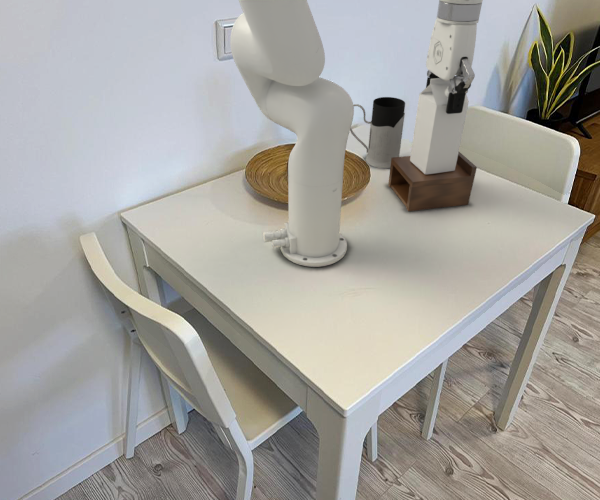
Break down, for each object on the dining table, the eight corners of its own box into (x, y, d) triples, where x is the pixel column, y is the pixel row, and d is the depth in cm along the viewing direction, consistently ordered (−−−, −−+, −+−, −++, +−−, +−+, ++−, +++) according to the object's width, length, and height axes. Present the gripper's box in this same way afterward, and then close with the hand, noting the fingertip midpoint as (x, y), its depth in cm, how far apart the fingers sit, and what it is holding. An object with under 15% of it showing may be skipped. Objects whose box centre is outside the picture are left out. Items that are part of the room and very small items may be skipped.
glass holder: (398, 170, 125) (406, 110, 116) (341, 163, 127) (344, 104, 119) (401, 155, 132) (409, 97, 123) (347, 149, 134) (350, 92, 126)
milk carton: (409, 161, 113) (422, 73, 102) (438, 157, 114) (453, 71, 103) (425, 175, 107) (440, 84, 96) (454, 171, 109) (473, 81, 98)
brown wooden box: (408, 211, 109) (414, 173, 103) (388, 185, 118) (392, 149, 113) (468, 204, 111) (477, 167, 106) (443, 179, 121) (450, 144, 116)
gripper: (420, 4, 99) (408, 92, 109) (462, 22, 85) (444, 121, 95) (455, 3, 101) (440, 90, 110) (502, 21, 87) (481, 118, 97)
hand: (442, 104), depth 103 cm, fingers open, 9 cm apart
